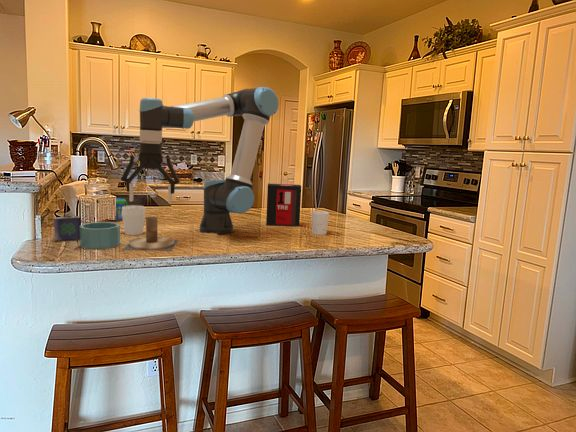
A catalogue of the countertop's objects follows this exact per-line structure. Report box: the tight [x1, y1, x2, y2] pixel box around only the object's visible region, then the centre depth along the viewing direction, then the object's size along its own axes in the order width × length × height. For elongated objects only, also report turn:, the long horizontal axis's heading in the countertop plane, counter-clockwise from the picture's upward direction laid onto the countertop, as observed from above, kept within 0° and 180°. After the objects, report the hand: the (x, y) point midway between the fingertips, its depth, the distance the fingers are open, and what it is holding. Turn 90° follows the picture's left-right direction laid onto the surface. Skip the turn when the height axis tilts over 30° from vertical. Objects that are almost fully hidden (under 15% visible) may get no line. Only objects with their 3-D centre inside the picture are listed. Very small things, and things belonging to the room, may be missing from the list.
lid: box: [128, 216, 175, 251], centre depth 157 cm, size 16×16×10 cm
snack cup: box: [115, 197, 129, 222], centre depth 205 cm, size 16×10×10 cm
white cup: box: [311, 210, 330, 236], centre depth 196 cm, size 8×8×10 cm
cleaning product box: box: [265, 183, 302, 228], centre depth 214 cm, size 16×9×20 cm, turn 92°
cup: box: [122, 204, 146, 236], centre depth 175 cm, size 9×9×12 cm
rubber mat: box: [122, 239, 179, 252], centre depth 158 cm, size 17×17×1 cm
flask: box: [53, 212, 82, 242], centre depth 163 cm, size 9×3×11 cm, turn 121°
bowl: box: [79, 221, 121, 250], centre depth 155 cm, size 13×13×8 cm
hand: (150, 201), depth 155 cm, fingers open, 13 cm apart
